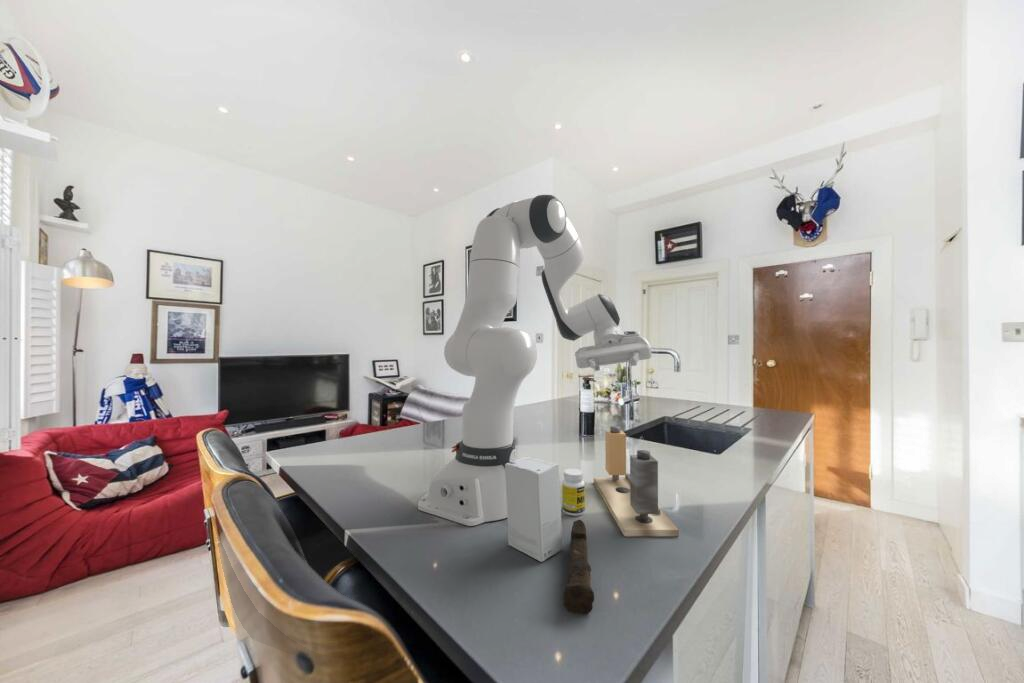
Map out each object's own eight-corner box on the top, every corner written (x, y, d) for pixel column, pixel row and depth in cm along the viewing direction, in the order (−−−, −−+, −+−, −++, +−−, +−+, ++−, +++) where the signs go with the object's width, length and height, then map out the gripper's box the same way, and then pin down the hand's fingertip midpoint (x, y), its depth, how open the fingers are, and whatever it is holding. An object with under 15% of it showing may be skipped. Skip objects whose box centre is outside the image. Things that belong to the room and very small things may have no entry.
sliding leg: (609, 482, 90) (609, 429, 90) (605, 476, 94) (605, 425, 94) (626, 482, 90) (625, 429, 90) (621, 476, 94) (621, 425, 94)
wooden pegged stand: (624, 536, 68) (624, 458, 68) (593, 482, 94) (593, 425, 94) (678, 536, 68) (678, 458, 68) (633, 482, 94) (632, 425, 94)
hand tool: (594, 619, 48) (594, 583, 48) (563, 614, 49) (563, 579, 49) (594, 542, 67) (594, 516, 67) (572, 539, 68) (572, 514, 68)
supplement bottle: (579, 518, 75) (579, 477, 75) (558, 513, 78) (558, 473, 78) (588, 509, 79) (588, 470, 79) (567, 504, 82) (567, 466, 82)
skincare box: (563, 550, 64) (562, 464, 64) (540, 565, 60) (539, 473, 60) (527, 532, 70) (527, 453, 70) (504, 544, 66) (504, 461, 66)
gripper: (573, 341, 110) (573, 360, 98) (644, 330, 106) (654, 348, 93) (576, 360, 112) (577, 381, 100) (647, 350, 108) (656, 371, 95)
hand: (615, 365), depth 96 cm, fingers open, 8 cm apart
